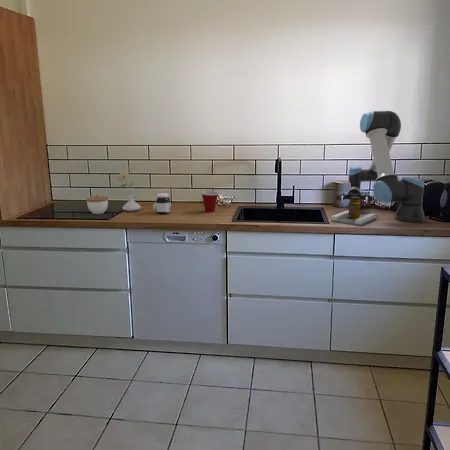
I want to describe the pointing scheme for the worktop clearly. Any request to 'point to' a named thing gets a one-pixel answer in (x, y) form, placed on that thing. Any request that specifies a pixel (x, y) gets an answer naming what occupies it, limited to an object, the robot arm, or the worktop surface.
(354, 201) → the condiment
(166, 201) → the spread jar
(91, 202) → the lidded bowl
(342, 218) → the grey tray with rails
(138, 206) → the flower in vase
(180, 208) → the worktop surface
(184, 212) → the worktop surface
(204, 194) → the plastic cup
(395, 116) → the robot arm
